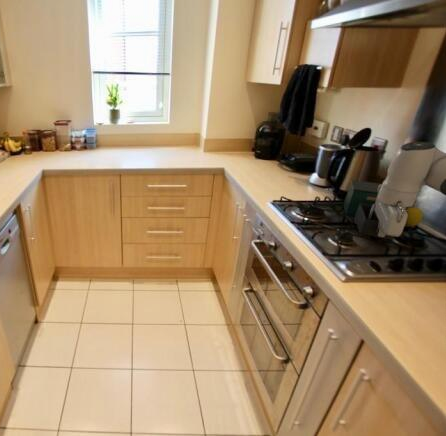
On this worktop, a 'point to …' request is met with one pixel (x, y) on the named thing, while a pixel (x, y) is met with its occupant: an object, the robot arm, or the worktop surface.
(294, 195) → the worktop surface
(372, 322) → the worktop surface
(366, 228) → the cutlery holder
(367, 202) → the bread bin
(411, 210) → the lemon
